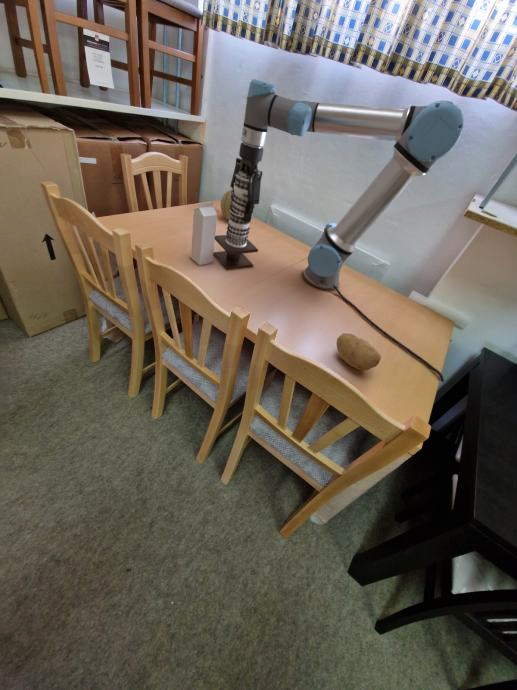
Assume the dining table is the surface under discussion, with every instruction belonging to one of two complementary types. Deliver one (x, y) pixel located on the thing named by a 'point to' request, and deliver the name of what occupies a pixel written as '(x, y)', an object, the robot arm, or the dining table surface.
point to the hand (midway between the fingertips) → (240, 215)
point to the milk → (203, 233)
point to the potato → (357, 352)
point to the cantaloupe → (226, 204)
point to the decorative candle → (238, 212)
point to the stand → (234, 254)
